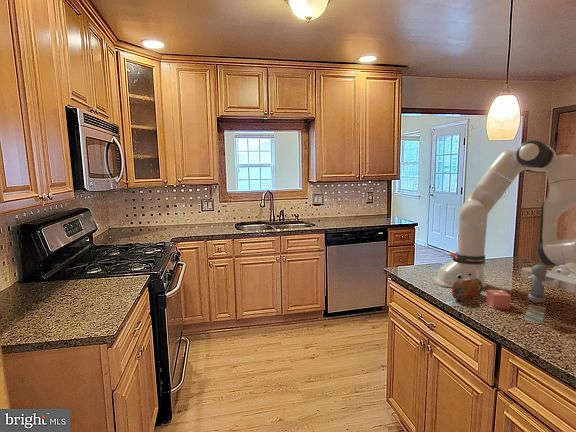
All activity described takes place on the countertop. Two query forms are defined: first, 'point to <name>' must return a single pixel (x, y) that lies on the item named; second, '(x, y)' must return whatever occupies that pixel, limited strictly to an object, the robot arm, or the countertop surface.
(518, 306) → the countertop surface
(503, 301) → the die
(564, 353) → the countertop surface
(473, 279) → the tin
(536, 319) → the board
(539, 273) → the pawn
